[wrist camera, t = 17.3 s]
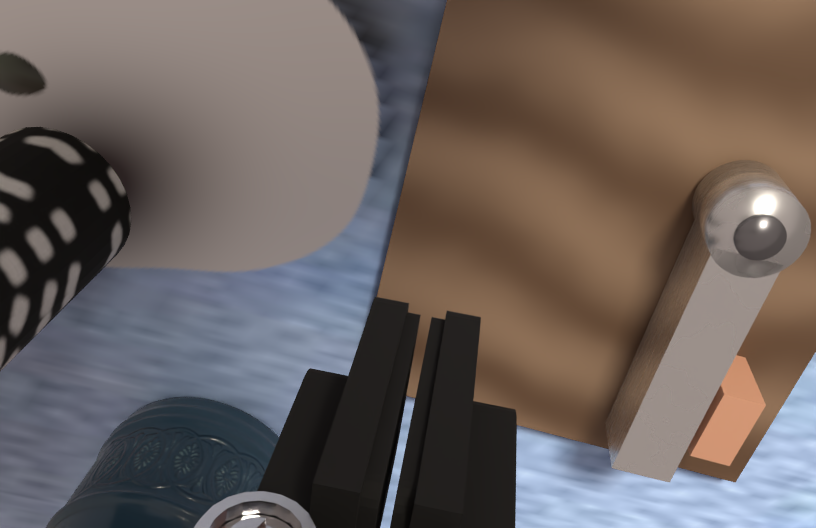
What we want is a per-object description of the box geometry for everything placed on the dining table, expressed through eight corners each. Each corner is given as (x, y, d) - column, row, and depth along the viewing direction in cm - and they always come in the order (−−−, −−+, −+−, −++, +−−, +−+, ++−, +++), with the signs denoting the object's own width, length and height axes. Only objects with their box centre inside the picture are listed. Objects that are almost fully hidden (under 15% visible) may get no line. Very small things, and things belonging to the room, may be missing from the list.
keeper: (707, 347, 39) (724, 394, 35) (745, 357, 39) (765, 405, 35) (676, 406, 41) (689, 455, 37) (712, 416, 41) (729, 466, 37)
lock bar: (712, 150, 34) (733, 183, 30) (801, 172, 33) (831, 207, 30) (596, 420, 41) (602, 469, 38) (667, 437, 41) (680, 489, 38)
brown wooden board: (519, -302, 28) (519, -306, 27) (1105, -153, 28) (1124, -153, 27) (359, 371, 44) (356, 382, 43) (731, 469, 43) (735, 482, 43)
